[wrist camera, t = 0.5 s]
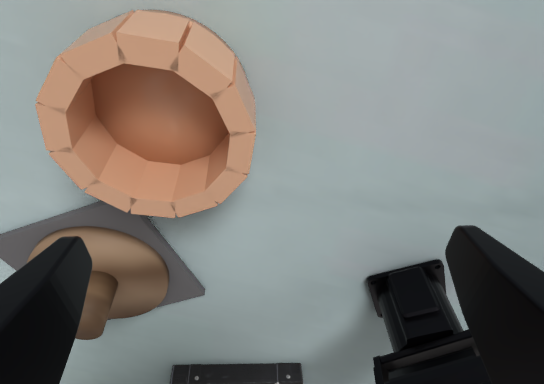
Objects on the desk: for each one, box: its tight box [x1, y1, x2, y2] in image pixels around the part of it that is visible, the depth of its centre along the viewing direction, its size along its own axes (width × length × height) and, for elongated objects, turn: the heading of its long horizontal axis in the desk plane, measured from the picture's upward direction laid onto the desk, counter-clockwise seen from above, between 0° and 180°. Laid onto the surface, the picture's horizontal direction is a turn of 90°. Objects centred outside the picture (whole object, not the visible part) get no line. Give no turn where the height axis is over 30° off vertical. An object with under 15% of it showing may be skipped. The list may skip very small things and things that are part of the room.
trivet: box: [0, 201, 205, 320], centre depth 30 cm, size 12×12×1 cm
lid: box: [27, 226, 169, 340], centre depth 28 cm, size 10×10×5 cm
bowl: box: [35, 10, 256, 218], centre depth 19 cm, size 10×10×4 cm
